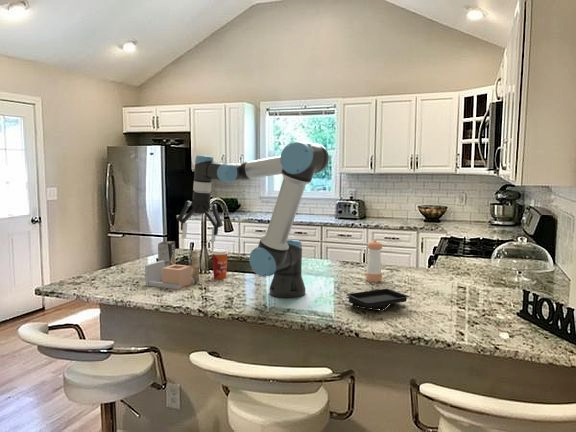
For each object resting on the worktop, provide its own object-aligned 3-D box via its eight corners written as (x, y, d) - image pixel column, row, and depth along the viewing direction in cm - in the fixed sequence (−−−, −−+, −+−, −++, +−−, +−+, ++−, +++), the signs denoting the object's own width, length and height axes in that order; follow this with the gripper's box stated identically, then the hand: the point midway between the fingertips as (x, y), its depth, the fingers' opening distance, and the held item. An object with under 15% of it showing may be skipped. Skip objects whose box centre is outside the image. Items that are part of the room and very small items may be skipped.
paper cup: (219, 282, 216) (219, 252, 215) (208, 280, 221) (208, 250, 220) (231, 279, 222) (231, 250, 221) (220, 277, 227) (220, 248, 226)
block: (191, 283, 209) (191, 266, 208) (180, 288, 201) (179, 270, 200) (174, 281, 213) (174, 264, 212) (162, 286, 204) (162, 268, 203)
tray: (354, 293, 199) (354, 281, 199) (410, 298, 193) (411, 286, 192) (340, 314, 171) (341, 300, 170) (406, 321, 164) (407, 306, 164)
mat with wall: (206, 281, 218) (205, 260, 217) (181, 292, 199) (180, 268, 198) (171, 278, 225) (171, 257, 224) (144, 287, 206) (143, 265, 205)
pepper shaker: (380, 278, 227) (382, 239, 225) (382, 282, 219) (383, 241, 217) (365, 278, 227) (366, 238, 225) (366, 281, 220) (367, 241, 218)
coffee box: (171, 277, 227) (170, 243, 225) (158, 276, 227) (157, 243, 225) (176, 272, 236) (175, 240, 234) (163, 272, 236) (162, 240, 234)
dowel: (200, 280, 216) (200, 250, 214) (196, 282, 213) (196, 251, 211) (194, 280, 217) (194, 250, 216) (190, 281, 214) (190, 251, 213)
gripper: (232, 194, 203) (228, 242, 206) (179, 187, 208) (176, 234, 211) (226, 196, 195) (222, 245, 199) (171, 188, 201) (168, 237, 204)
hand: (198, 240), depth 205 cm, fingers open, 13 cm apart
